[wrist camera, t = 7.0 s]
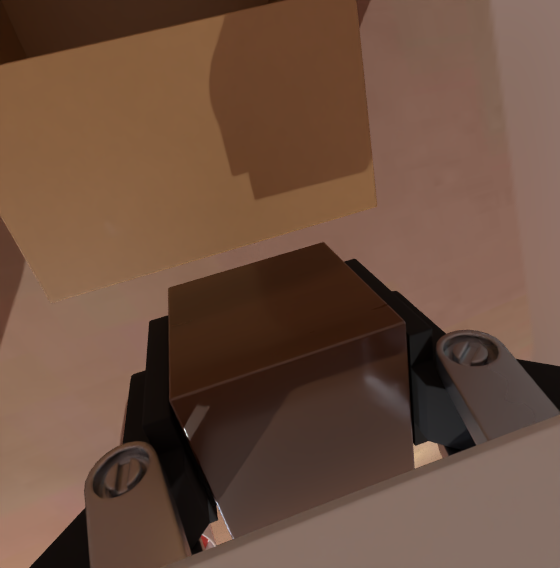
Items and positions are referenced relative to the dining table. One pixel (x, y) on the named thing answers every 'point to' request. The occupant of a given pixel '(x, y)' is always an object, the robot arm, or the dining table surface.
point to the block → (289, 385)
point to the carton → (175, 130)
